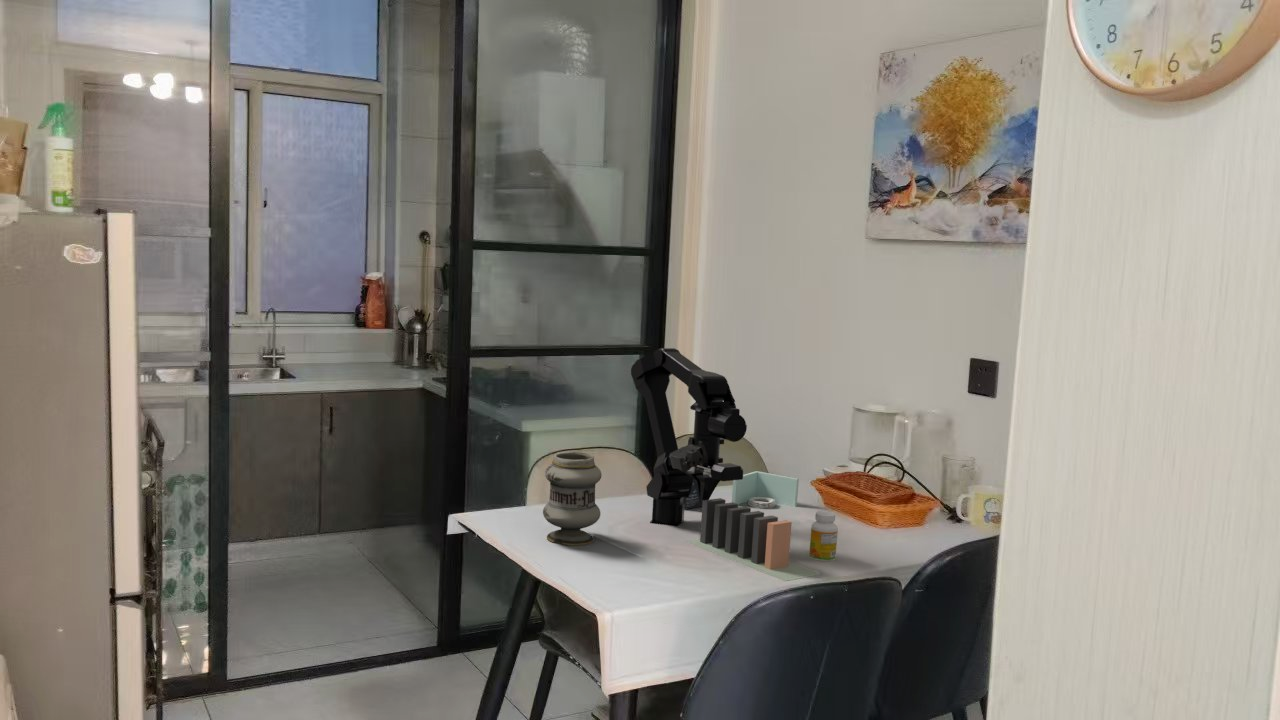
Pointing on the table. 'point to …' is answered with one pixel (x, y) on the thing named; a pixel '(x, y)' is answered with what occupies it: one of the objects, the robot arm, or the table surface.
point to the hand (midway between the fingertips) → (702, 505)
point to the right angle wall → (765, 490)
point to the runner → (781, 573)
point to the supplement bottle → (823, 537)
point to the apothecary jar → (572, 497)
